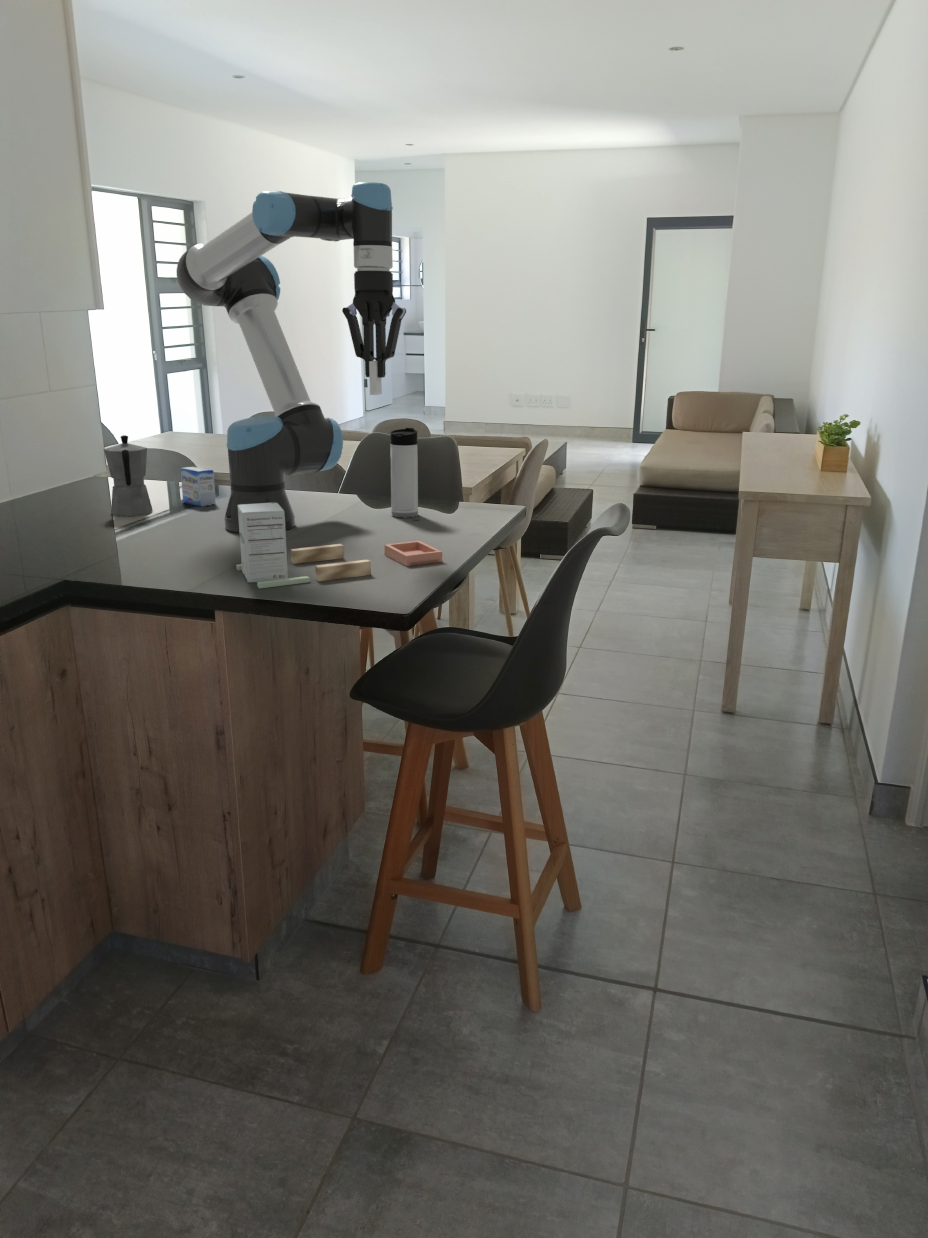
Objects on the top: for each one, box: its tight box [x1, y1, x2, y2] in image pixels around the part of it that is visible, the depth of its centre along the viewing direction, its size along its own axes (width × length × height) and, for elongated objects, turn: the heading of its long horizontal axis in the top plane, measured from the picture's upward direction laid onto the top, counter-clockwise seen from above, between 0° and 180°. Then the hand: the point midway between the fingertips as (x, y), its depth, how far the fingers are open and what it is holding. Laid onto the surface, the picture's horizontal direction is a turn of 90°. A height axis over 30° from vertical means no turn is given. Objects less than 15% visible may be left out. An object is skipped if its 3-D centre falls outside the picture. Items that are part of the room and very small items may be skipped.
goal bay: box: [235, 563, 311, 589], centre depth 165 cm, size 9×14×1 cm, turn 29°
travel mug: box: [389, 427, 419, 519], centre depth 214 cm, size 6×7×20 cm
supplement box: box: [238, 503, 289, 584], centre depth 163 cm, size 7×7×13 cm
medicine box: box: [180, 466, 217, 507], centre depth 227 cm, size 8×4×9 cm, turn 50°
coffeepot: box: [103, 434, 153, 517], centre depth 213 cm, size 15×9×18 cm, turn 19°
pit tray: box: [383, 540, 443, 567], centre depth 178 cm, size 8×10×2 cm
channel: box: [290, 543, 372, 582], centre depth 170 cm, size 10×15×2 cm, turn 29°
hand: (375, 394), depth 187 cm, fingers closed
